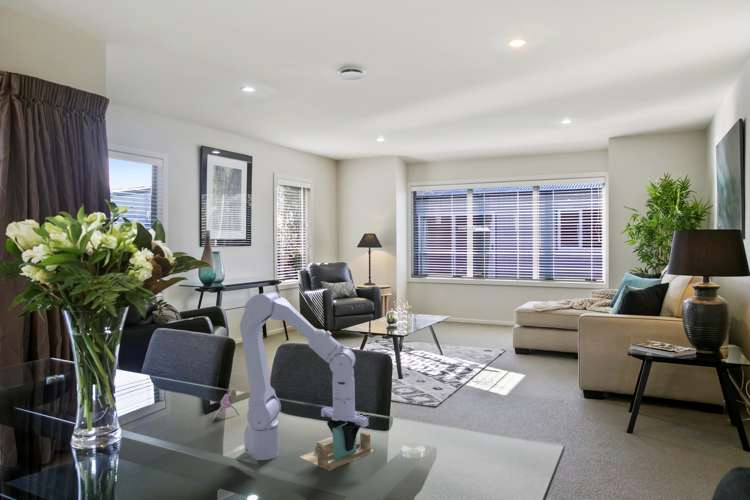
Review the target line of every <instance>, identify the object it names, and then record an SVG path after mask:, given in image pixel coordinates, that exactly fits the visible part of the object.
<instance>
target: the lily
mask: <svg viewBox="0 0 750 500" xmlns="http://www.w3.org/2000/svg"><path fill="white" fill-rule="evenodd" d="M234 387H235V386H232V388H231V389H230V391H229V392H228V393H225V394H224V396H222V398H221V400H220V407H219V408H218V410H217V412H216V413H215V414H214V416H213V418H212V421H214V420H215V418H216V416H217V415H218V413H219V412H221V411H223V410H226V409H228V408H232V409H233V410H234V411H235V413H236V414H237V415H238V416H240V414H239V413H238V410H237V409H236V408H235V407H234V406H232V402H231V395H232V392H233V391H234V389H235V388H234Z"/></svg>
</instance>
